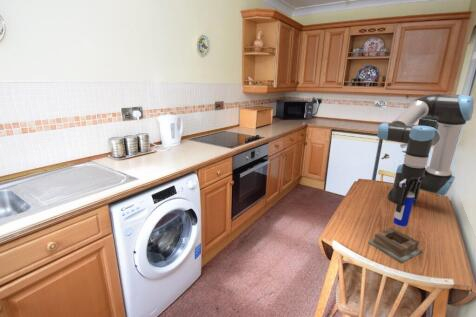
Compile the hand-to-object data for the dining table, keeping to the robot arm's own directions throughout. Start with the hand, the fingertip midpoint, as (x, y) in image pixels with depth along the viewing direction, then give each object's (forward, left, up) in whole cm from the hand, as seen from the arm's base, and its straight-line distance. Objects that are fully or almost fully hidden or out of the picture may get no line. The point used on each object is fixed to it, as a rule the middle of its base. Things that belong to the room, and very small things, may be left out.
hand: (401, 216), depth 106 cm
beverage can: (0, 0, -4) cm, 4 cm away
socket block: (0, 0, -16) cm, 16 cm away
